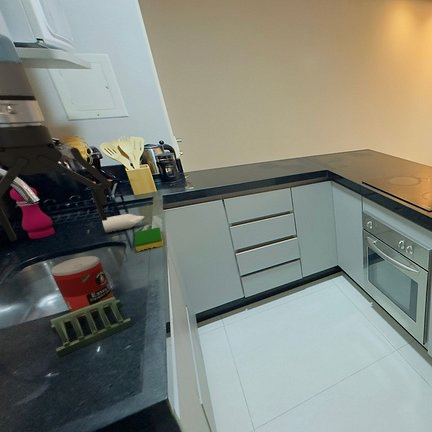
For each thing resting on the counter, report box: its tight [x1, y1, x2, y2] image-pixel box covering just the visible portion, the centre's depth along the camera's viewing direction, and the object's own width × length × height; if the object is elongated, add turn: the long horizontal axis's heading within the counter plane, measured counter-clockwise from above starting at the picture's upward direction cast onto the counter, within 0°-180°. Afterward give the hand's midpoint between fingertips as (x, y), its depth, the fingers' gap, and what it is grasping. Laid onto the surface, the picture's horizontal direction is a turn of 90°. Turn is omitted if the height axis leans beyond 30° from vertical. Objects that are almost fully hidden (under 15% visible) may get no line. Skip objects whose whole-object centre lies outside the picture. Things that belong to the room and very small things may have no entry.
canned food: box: [50, 255, 114, 314], centre depth 68 cm, size 8×8×11 cm
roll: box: [101, 213, 145, 234], centre depth 112 cm, size 6×12×6 cm, turn 127°
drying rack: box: [50, 296, 133, 358], centre depth 61 cm, size 11×11×8 cm
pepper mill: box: [9, 186, 56, 240], centre depth 104 cm, size 7×7×20 cm
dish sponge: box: [134, 227, 164, 252], centre depth 102 cm, size 7×14×2 cm, turn 38°
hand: (62, 228), depth 63 cm, fingers open, 13 cm apart
